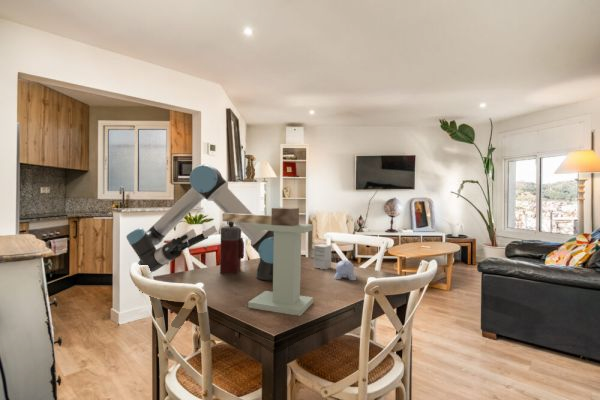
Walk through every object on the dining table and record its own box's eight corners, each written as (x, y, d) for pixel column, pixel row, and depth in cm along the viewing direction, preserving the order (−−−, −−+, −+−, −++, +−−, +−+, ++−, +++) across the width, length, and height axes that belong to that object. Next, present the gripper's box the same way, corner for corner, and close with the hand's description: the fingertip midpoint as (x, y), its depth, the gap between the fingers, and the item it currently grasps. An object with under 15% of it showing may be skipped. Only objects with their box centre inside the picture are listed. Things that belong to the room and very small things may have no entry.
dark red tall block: (242, 273, 159) (243, 218, 159) (220, 273, 159) (220, 218, 158) (244, 269, 168) (245, 217, 168) (223, 269, 168) (224, 216, 167)
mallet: (219, 221, 121) (219, 206, 121) (229, 220, 128) (229, 205, 128) (291, 226, 111) (292, 209, 111) (298, 224, 118) (299, 208, 117)
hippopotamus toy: (355, 274, 163) (356, 256, 163) (356, 282, 148) (356, 262, 148) (335, 273, 165) (335, 254, 165) (333, 280, 150) (333, 261, 150)
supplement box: (320, 265, 181) (320, 243, 181) (331, 267, 177) (331, 245, 176) (313, 267, 175) (313, 245, 175) (324, 270, 171) (325, 246, 170)
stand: (248, 307, 114) (249, 224, 113) (265, 295, 127) (266, 221, 126) (300, 316, 107) (302, 227, 106) (312, 302, 120) (314, 224, 119)
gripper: (191, 255, 145) (226, 234, 139) (149, 266, 122) (188, 243, 115) (185, 240, 146) (219, 219, 140) (141, 249, 123) (180, 224, 116)
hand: (205, 230), depth 128 cm, fingers open, 13 cm apart
